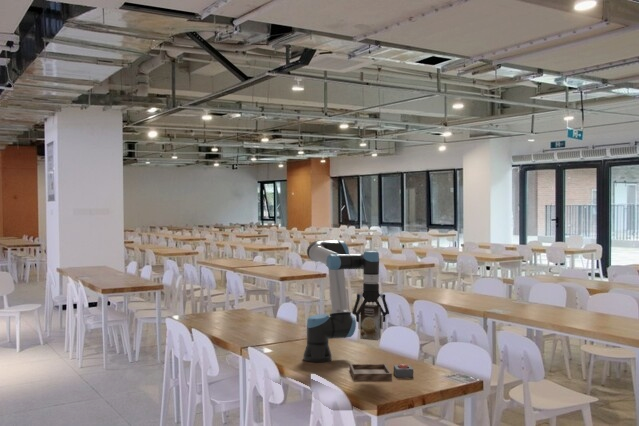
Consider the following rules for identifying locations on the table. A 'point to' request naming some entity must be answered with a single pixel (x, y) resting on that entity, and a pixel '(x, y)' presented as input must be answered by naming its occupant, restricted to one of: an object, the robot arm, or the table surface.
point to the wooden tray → (370, 372)
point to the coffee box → (370, 322)
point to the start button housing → (403, 372)
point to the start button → (403, 366)
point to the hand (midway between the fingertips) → (370, 328)
